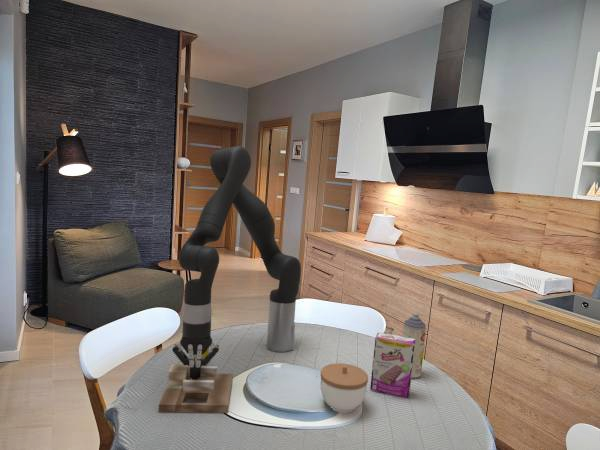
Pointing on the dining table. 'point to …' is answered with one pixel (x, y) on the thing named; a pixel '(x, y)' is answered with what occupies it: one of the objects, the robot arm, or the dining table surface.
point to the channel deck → (199, 393)
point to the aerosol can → (416, 331)
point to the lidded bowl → (343, 386)
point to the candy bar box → (392, 364)
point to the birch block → (178, 374)
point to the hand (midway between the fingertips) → (195, 378)
